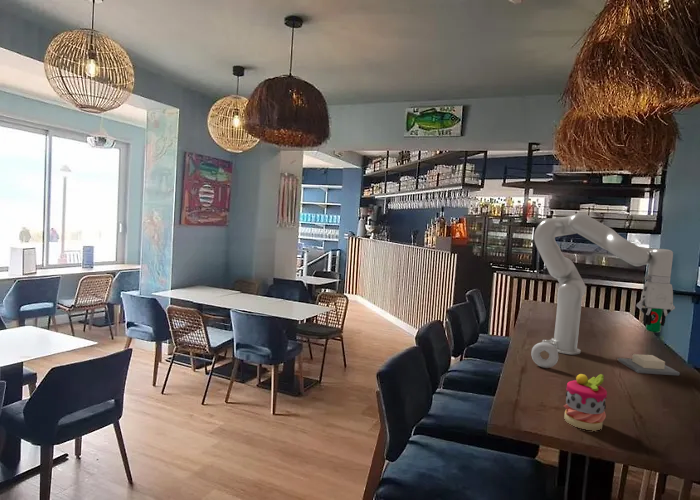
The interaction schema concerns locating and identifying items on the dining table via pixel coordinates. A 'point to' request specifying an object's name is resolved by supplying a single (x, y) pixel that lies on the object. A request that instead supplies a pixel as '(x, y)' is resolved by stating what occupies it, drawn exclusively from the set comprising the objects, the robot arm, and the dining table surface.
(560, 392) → the dining table surface
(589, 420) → the cake
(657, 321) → the soda can
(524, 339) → the dining table surface
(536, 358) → the donut
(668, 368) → the build base
